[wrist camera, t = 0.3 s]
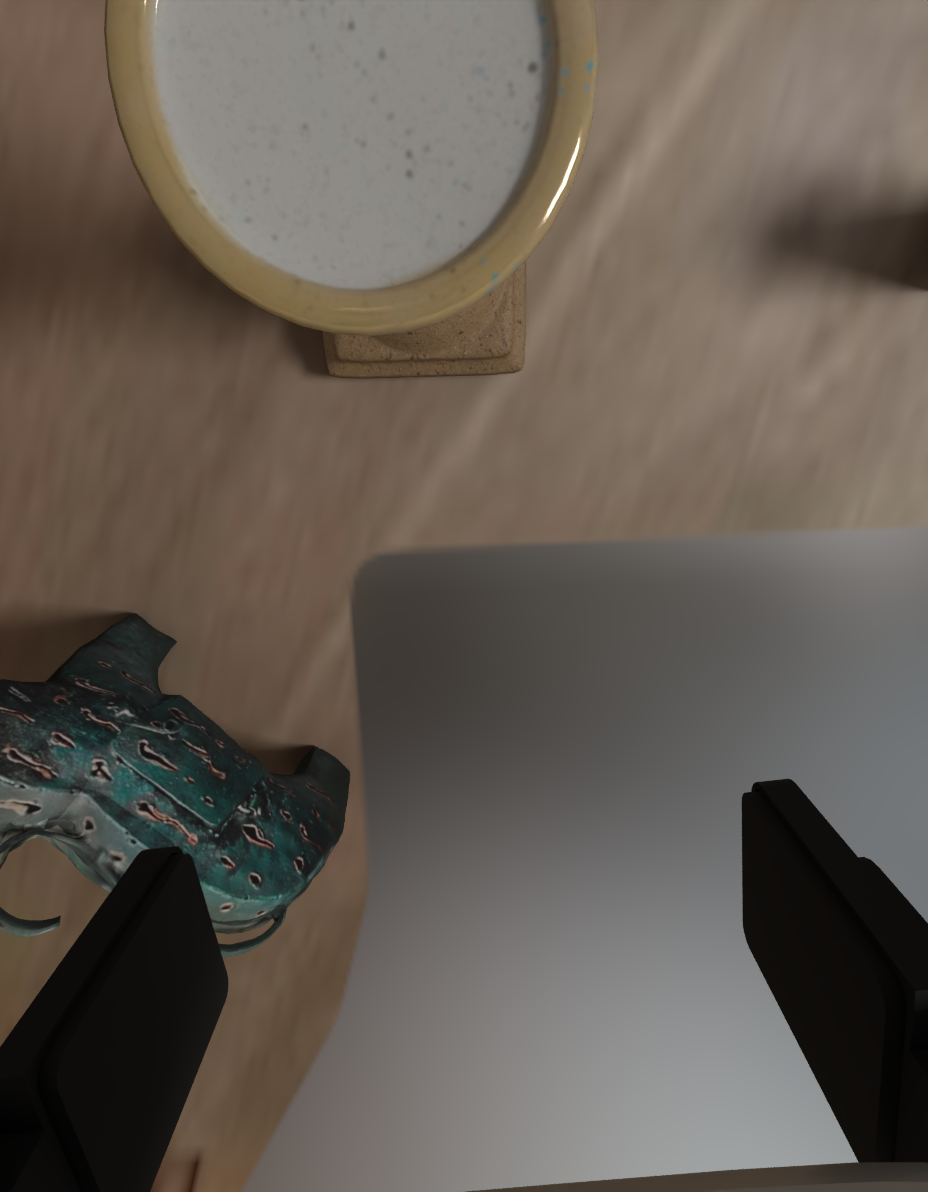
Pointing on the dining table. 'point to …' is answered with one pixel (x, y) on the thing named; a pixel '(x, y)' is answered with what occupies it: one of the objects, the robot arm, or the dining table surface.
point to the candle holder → (363, 160)
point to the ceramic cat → (158, 786)
